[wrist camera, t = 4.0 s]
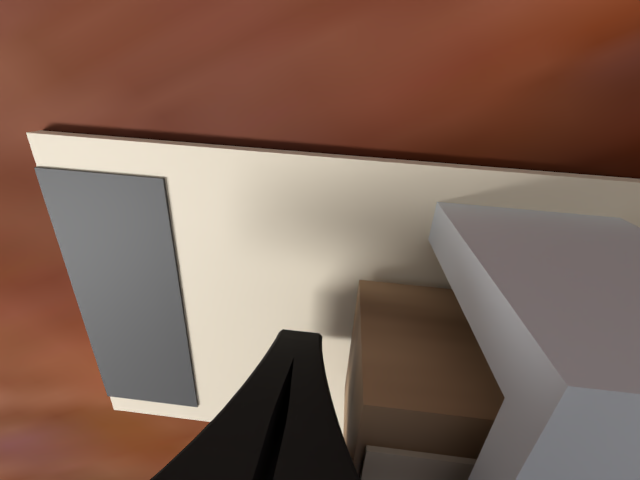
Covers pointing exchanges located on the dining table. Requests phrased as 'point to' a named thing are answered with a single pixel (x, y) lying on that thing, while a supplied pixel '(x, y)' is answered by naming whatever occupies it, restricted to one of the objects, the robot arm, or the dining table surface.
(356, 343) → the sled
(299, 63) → the dining table surface
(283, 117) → the dining table surface
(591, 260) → the tunnel
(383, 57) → the dining table surface
